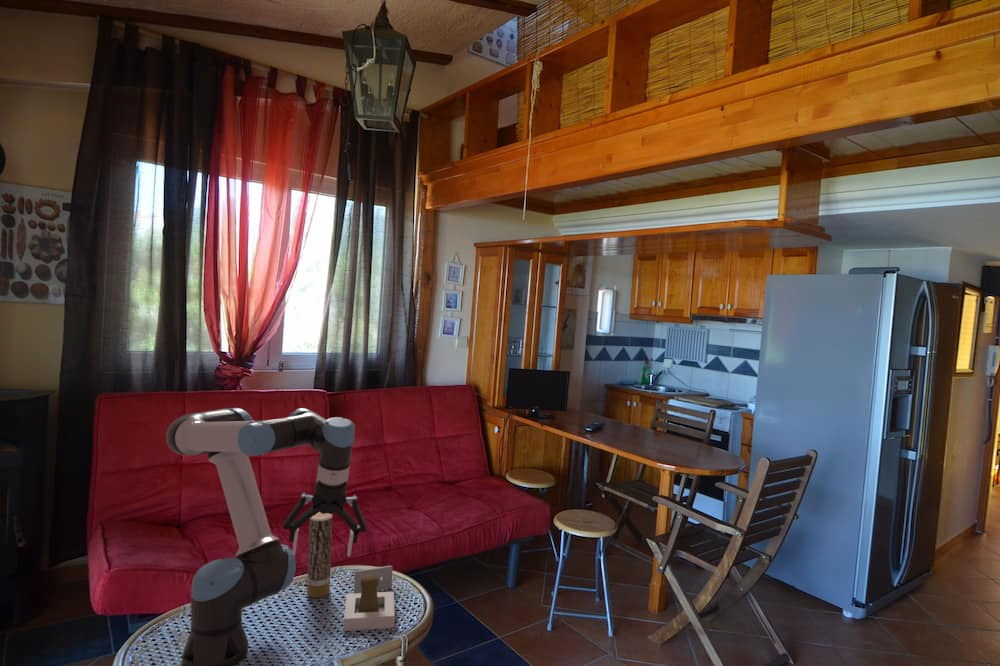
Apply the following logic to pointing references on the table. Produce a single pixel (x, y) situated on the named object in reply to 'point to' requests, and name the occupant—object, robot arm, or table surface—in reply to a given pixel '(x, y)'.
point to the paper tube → (319, 555)
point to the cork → (369, 594)
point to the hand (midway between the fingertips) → (321, 552)
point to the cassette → (379, 572)
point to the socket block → (369, 613)
